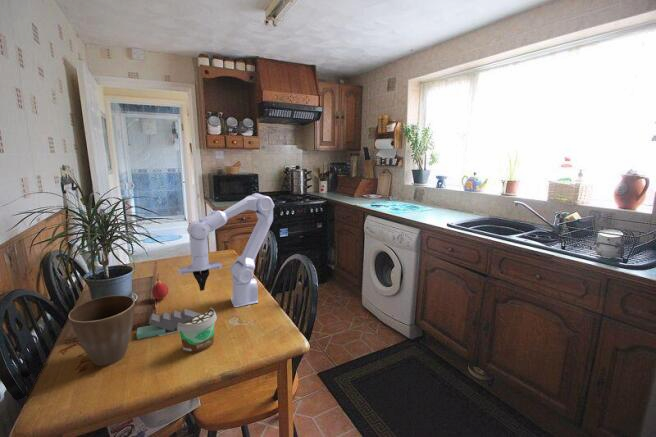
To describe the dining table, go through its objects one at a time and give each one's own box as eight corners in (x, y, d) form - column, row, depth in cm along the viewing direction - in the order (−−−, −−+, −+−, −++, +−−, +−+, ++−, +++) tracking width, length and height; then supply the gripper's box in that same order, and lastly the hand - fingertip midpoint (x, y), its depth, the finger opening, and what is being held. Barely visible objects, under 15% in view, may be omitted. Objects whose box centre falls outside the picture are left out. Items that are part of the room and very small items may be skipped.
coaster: (178, 323, 109) (178, 322, 109) (179, 332, 104) (179, 331, 104) (158, 327, 106) (158, 326, 106) (158, 336, 101) (158, 336, 101)
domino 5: (205, 315, 112) (184, 308, 108) (207, 321, 108) (184, 314, 104) (203, 319, 112) (181, 312, 108) (205, 325, 108) (182, 318, 104)
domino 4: (195, 317, 110) (173, 310, 106) (197, 323, 107) (174, 316, 103) (193, 321, 110) (171, 314, 106) (194, 327, 106) (171, 320, 102)
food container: (191, 361, 89) (189, 330, 87) (178, 354, 93) (176, 323, 91) (226, 340, 100) (225, 311, 98) (213, 334, 103) (212, 306, 101)
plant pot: (133, 369, 86) (127, 316, 82) (67, 381, 81) (57, 325, 77) (144, 339, 99) (139, 292, 96) (87, 348, 94) (80, 299, 91)
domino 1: (165, 322, 106) (137, 327, 102) (165, 328, 102) (136, 334, 98) (165, 326, 106) (138, 332, 103) (165, 333, 102) (137, 339, 99)
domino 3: (185, 319, 109) (163, 311, 105) (186, 325, 105) (163, 318, 101) (183, 323, 109) (160, 316, 105) (184, 329, 105) (160, 322, 101)
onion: (162, 304, 122) (160, 284, 120) (149, 302, 123) (147, 283, 121) (172, 297, 128) (170, 279, 126) (159, 295, 129) (158, 277, 127)
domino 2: (175, 320, 107) (152, 313, 103) (176, 327, 104) (151, 319, 100) (173, 325, 107) (149, 317, 103) (173, 331, 103) (149, 323, 100)
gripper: (218, 248, 119) (220, 282, 122) (176, 253, 112) (179, 289, 115) (222, 254, 113) (224, 289, 116) (177, 259, 106) (181, 296, 109)
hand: (202, 289), depth 115 cm, fingers closed
